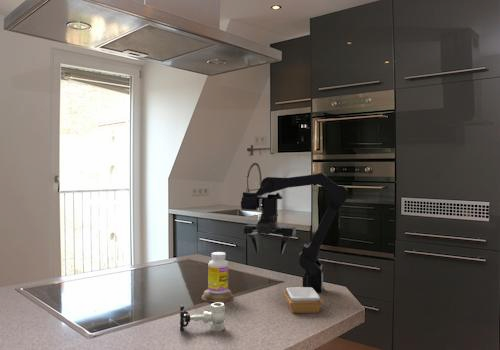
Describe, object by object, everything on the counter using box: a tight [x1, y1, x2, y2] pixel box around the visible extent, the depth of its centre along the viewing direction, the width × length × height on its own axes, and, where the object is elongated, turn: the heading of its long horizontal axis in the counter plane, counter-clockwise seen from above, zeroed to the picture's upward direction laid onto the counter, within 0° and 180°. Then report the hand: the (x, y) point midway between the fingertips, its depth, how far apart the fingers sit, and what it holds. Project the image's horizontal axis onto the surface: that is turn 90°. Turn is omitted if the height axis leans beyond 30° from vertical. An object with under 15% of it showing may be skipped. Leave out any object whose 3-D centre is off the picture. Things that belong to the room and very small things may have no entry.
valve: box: [179, 302, 226, 332], centre depth 109 cm, size 7×7×12 cm
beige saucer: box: [201, 288, 234, 303], centre depth 136 cm, size 10×10×2 cm
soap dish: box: [283, 286, 323, 314], centre depth 128 cm, size 12×10×5 cm
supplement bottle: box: [207, 251, 229, 294], centre depth 136 cm, size 7×7×13 cm
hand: (269, 253), depth 150 cm, fingers open, 9 cm apart
